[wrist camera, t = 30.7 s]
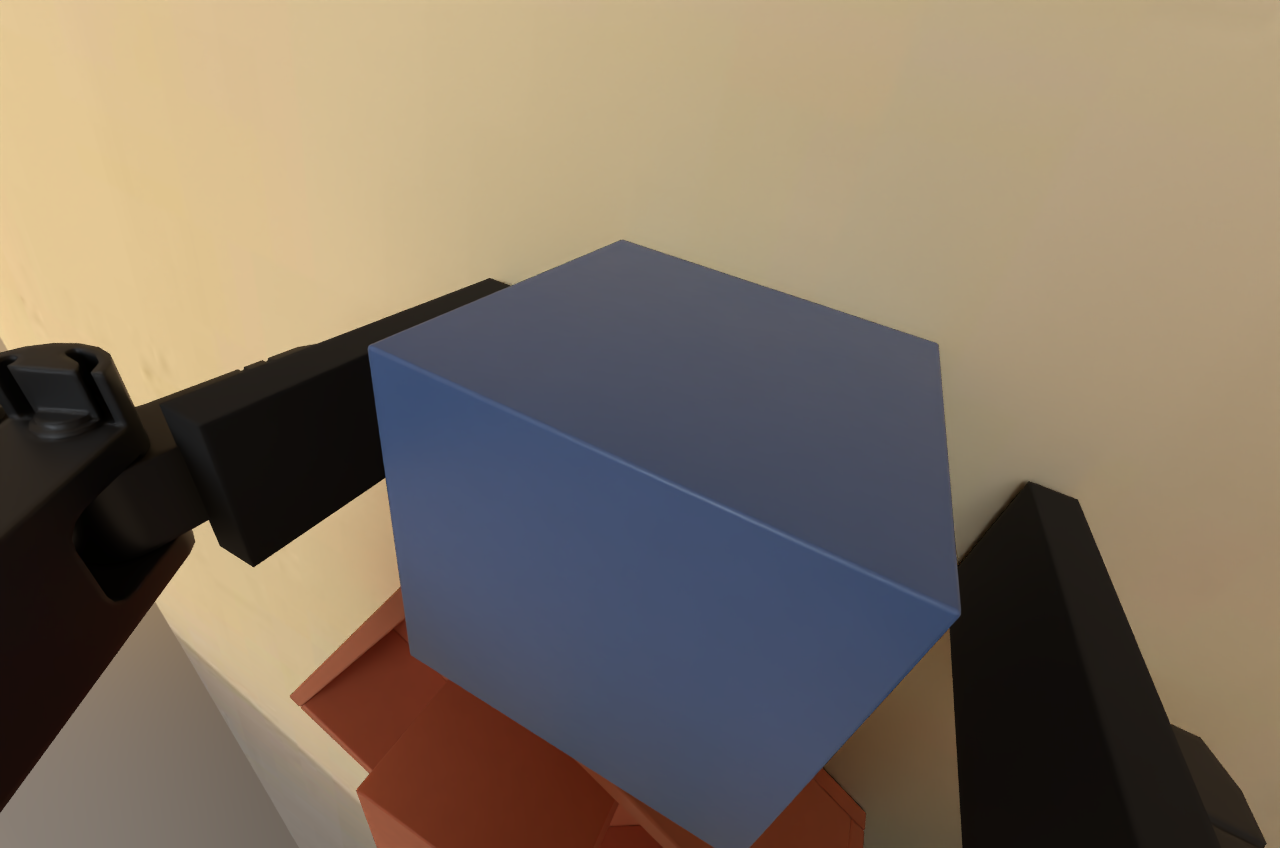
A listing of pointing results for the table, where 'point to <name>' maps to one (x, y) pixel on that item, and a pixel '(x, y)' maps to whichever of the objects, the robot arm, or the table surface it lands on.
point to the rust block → (480, 784)
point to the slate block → (670, 522)
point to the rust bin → (638, 835)
